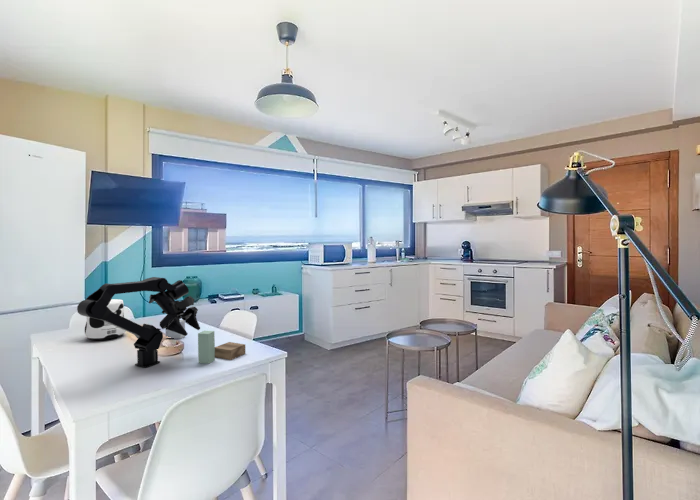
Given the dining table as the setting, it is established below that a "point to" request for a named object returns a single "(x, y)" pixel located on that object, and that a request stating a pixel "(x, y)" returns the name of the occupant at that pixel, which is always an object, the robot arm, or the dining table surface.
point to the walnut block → (229, 350)
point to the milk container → (105, 324)
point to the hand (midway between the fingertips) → (193, 332)
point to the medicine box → (174, 334)
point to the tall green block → (206, 347)
